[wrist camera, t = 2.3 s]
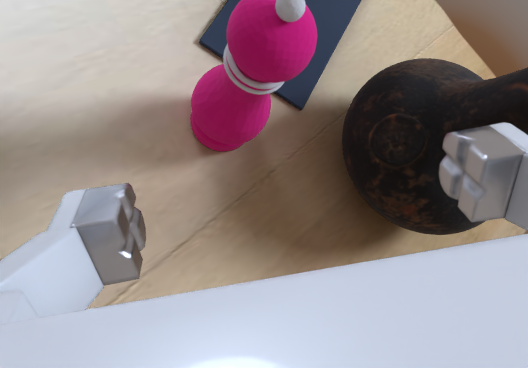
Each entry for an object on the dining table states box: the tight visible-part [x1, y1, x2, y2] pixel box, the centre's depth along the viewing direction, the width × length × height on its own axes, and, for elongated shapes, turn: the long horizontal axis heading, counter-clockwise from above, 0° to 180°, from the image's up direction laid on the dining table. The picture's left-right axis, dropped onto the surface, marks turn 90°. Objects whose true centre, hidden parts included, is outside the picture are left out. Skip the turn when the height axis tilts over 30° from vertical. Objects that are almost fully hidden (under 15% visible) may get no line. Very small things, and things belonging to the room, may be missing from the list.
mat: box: [199, 0, 361, 110], centre depth 48 cm, size 24×13×1 cm, turn 152°
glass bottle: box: [342, 58, 528, 235], centre depth 34 cm, size 18×18×28 cm
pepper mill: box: [190, 0, 317, 151], centre depth 32 cm, size 7×7×20 cm
